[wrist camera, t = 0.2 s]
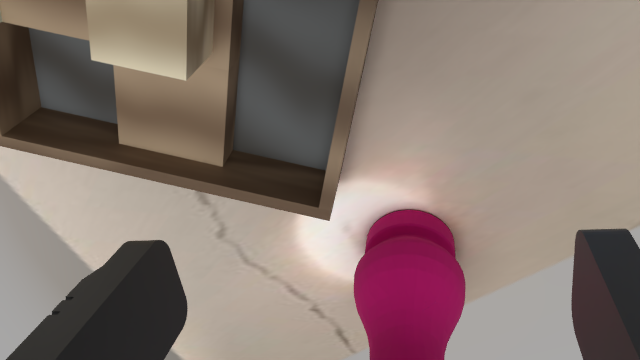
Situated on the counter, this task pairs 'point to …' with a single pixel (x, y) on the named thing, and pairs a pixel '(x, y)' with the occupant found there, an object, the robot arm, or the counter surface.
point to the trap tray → (195, 100)
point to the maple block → (152, 34)
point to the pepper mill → (409, 287)
